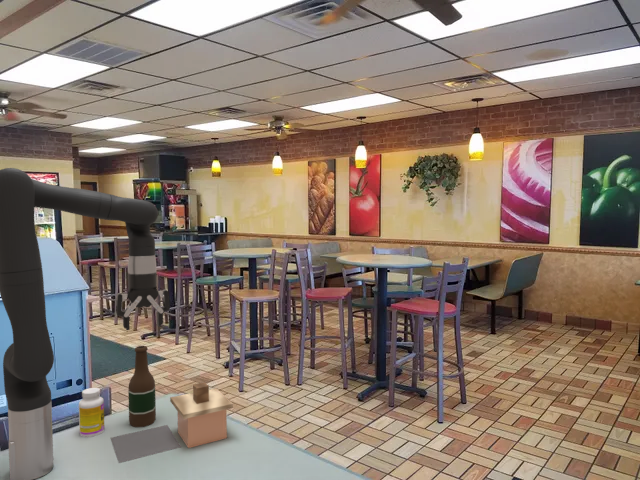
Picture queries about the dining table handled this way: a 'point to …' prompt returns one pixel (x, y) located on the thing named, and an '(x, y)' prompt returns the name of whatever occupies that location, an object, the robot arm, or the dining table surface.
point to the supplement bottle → (91, 413)
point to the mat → (144, 443)
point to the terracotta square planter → (203, 428)
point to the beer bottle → (142, 392)
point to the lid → (200, 401)
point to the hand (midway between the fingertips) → (143, 327)
